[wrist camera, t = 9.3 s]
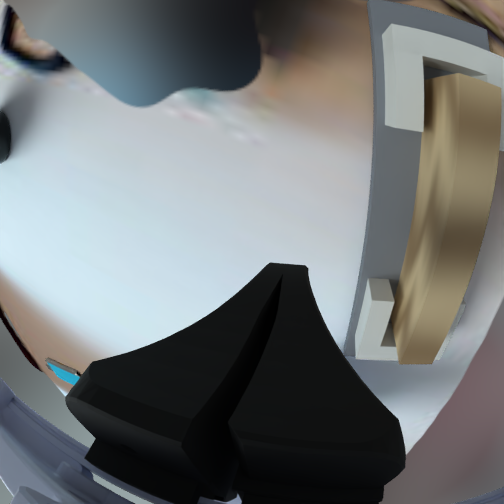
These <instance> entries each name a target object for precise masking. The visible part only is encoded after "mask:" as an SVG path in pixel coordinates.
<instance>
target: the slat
mask: <svg viewBox="0 0 504 504" xmlns="http://www.w3.org/2000/svg"><path fill="white" fill-rule="evenodd" d="M501 111H502V99H501V88H500V87H498V86H495V85H493V84H490V83H487V82H485V81H482V80H479V79H476V78H473V77H470V76H467V75H464V74H461V73H456V74H451V75H446V76H441V77H436V78H431V79H427V80H424V128H423V132H422V137H421V152H420V164H419V174H418V182H417V190H416V198H415V205H414V211H413V217H412V223H411V228H410V234H409V239H408V244H407V248H406V253H405V258H404V262H403V266H402V270H401V274H400V278H399V282H398V286H397V290H396V294H395V297H394V305H393V309H392V312H391V315H390V316H391V321H392V327H393V332H394V337H395V343H396V349H397V355H398V361H399V364H432V363H433V361H434V359H435V357H436V355H437V353H438V351H439V350H440V348H441V346H442V344H443V342H444V340H445V338H446V336H447V334H448V331H449V329H450V327H451V325H452V323H453V321H454V318H455V316H456V314H457V311H458V309H459V307H460V304H461V302H462V299H463V297H464V294H465V292H466V289H467V287H468V284H469V281H470V278H471V275H472V273H473V270H474V267H475V264H476V261H477V257H478V254H479V251H480V247H481V244H482V240H483V237H484V233H485V229H486V225H487V221H488V217H489V212H490V208H491V203H492V198H493V192H494V187H495V181H496V174H497V167H498V158H499V148H500V136H501Z"/></svg>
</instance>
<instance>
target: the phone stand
mask: <svg viewBox="0 0 504 504" xmlns="http://www.w3.org/2000/svg"><path fill="white" fill-rule="evenodd" d="M45 361H46V362H47V363H48V364H49V366H48V365H46V366H47V367H48V368H49V369H50V370H52V371H54V372H55V374H56V375H57V376H58V377H59V378H60V379H62V380H64V381H66V382H68V383H70V384H73V385H75V384H76V382H77V381H78V380H79V378H80V377H81V375H80V376H78V375H77V374H76V372H77V370H75V369H72V368H70V367H68V366H65V365H63V364H61V363H59V362H57V361H55V360H52V359H50V358H46V360H45Z"/></svg>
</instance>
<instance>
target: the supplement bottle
mask: <svg viewBox="0 0 504 504" xmlns="http://www.w3.org/2000/svg"><path fill="white" fill-rule="evenodd" d="M9 148H10V128H9V123H8V120H7V117H6V116H5V114H4V113H3V112H1V111H0V164H1V163H2V162H4V160H5V159H6V157H7V155H8V152H9Z"/></svg>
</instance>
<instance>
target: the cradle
mask: <svg viewBox="0 0 504 504" xmlns="http://www.w3.org/2000/svg"><path fill="white" fill-rule="evenodd" d="M367 8H368V16H369V25H370V35H371V47H372V63H373V90H374V126H373V154H372V171H371V184H370V196H369V206H368V215H367V224H366V232H365V239H364V246H363V253H362V260H361V266H360V272H359V278H358V283H357V289H356V294H355V299H354V304H353V309H352V314H351V318H350V323H349V327H348V332H347V336H346V340H345V344H344V356H356V359H359V360H387V361H398V355H397V349H396V343H395V337H394V332H393V327H392V321H391V316H390V315H391V312H392V309H393V305H394V297H395V294H396V290H397V286H398V282H399V278H400V274H401V270H402V266H403V262H404V258H405V253H406V248H407V244H408V239H409V234H410V228H411V223H412V217H413V211H414V205H415V198H416V190H417V182H418V174H419V164H420V152H421V137H422V132H423V128H424V80H427V79H431V78H436V77H441V76H446V75H451V74H456V73H461V74H464V75H467V76H470V77H473V78H476V79H479V80H482V81H485V82H487V83H490V84H493V85H495V86H498V87H500V88H501V99H502V111H501V136H500V148H499V150H500V151H504V58H503V57H501V56H499V55H497V54H494V53H492V52H490V50H489V42H488V36H487V30H486V29H483V28H481V27H478V26H476V25H473V24H471V23H468V22H465V21H463V20H460V19H457V18H454V17H451V16H448V15H444V14H441V13H438V12H434V11H430V10H427V9H423V8H419V7H414V6H410V5H405V4H401V3H395V2H390V1H384V0H368V2H367ZM465 306H466V303H465V301H464V299H462V302H461V304H460V307H459V309H458V311H457V314H456V316H455V318H454V321H453V323H452V325H451V327H450V329H449V331H448V334H447V336H446V338H445V340H444V342H443V344H442V346H441V348H440V350H439V351H438V353H437V355H436V357H435V359H434V360H440V358H441V356H442V354H443V352H444V350H445V349H446V347H447V345H448V343H449V341H450V339H451V337H452V335H453V333H454V331H455V329H456V326H457V324H458V322H459V320H460V318H461V316H462V313H463V311H464V309H465Z"/></svg>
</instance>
